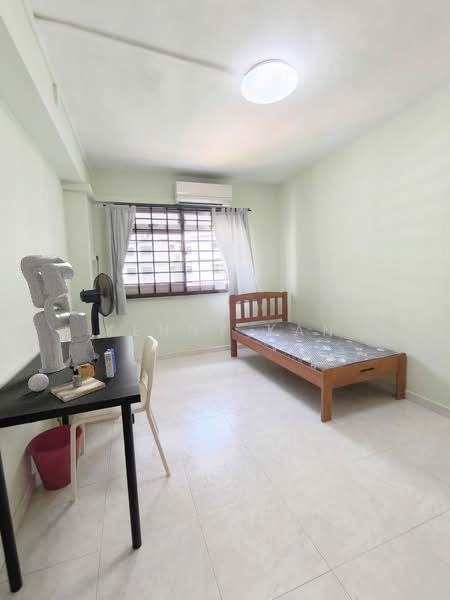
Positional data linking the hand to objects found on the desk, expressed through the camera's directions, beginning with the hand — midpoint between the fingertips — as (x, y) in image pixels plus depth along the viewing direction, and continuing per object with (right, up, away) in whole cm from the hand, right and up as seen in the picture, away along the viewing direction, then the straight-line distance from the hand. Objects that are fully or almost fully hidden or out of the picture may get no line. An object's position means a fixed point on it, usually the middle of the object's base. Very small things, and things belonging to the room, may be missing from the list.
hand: (84, 374), depth 129 cm
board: (+5, -2, -14) cm, 15 cm away
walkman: (+13, 0, +1) cm, 13 cm away
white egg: (-12, -3, -14) cm, 19 cm away
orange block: (0, -1, 0) cm, 1 cm away
